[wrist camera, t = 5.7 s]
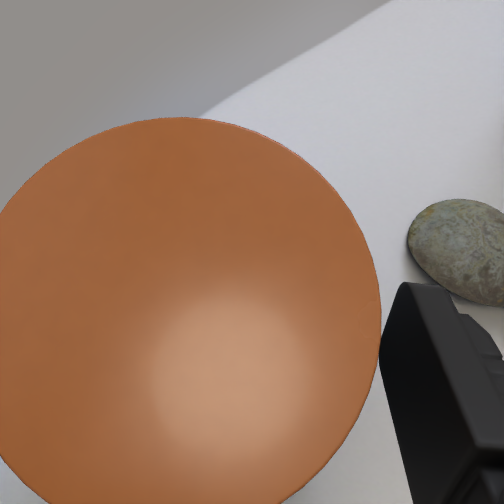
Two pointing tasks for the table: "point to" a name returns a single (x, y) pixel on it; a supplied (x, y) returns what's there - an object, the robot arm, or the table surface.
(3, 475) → the table surface
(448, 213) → the soupspoon
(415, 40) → the table surface
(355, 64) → the table surface
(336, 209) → the tin
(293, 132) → the table surface
